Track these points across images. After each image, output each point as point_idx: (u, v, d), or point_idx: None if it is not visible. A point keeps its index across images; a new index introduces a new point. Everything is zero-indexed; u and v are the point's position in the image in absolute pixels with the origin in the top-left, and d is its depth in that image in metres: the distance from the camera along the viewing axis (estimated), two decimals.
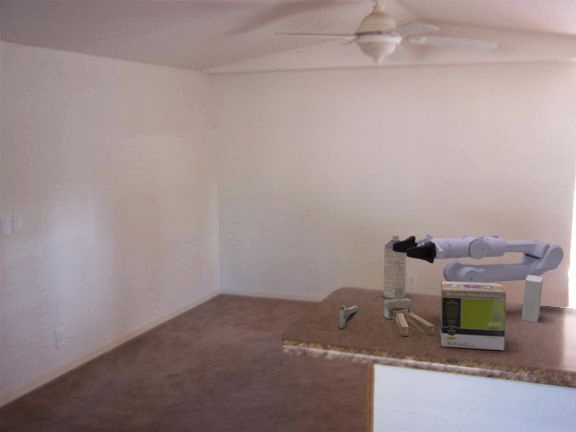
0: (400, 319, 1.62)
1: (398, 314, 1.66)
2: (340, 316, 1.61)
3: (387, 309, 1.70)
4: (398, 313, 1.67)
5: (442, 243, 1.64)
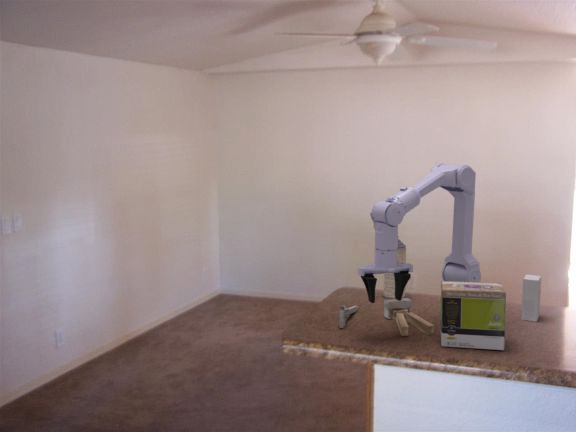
0: (400, 319, 1.62)
1: (398, 314, 1.66)
2: (340, 316, 1.61)
3: (387, 309, 1.70)
4: (398, 313, 1.67)
5: (396, 257, 1.52)
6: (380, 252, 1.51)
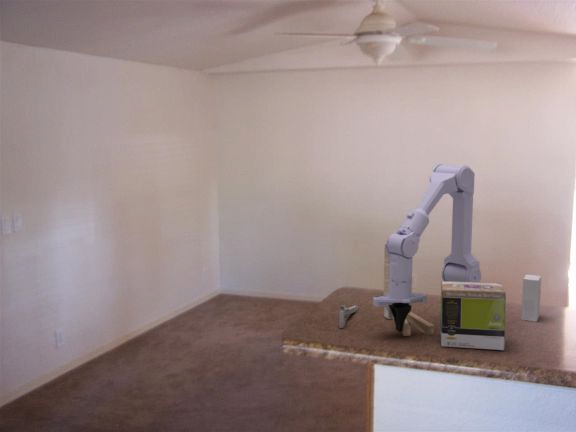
0: None
1: None
2: (340, 316, 1.62)
3: (387, 309, 1.70)
4: None
5: (411, 288, 1.54)
6: (395, 283, 1.53)
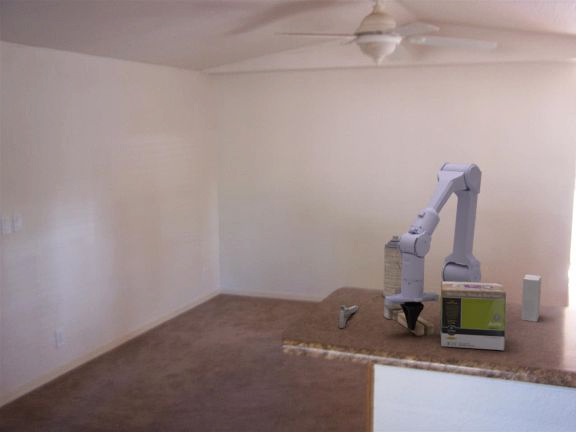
0: None
1: (401, 314, 1.66)
2: (340, 316, 1.62)
3: (387, 309, 1.70)
4: (400, 313, 1.67)
5: (423, 287, 1.55)
6: (407, 282, 1.54)
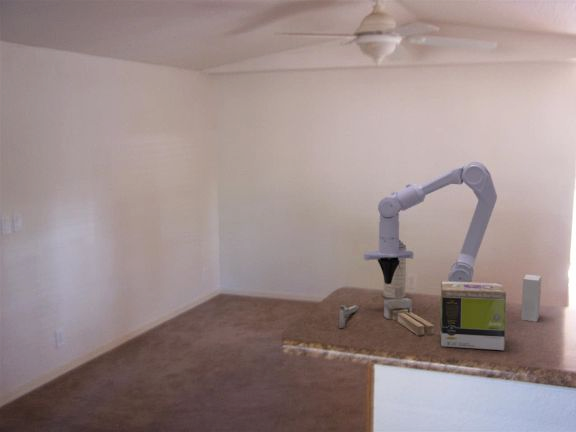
0: (408, 319, 1.62)
1: (401, 314, 1.66)
2: (340, 316, 1.62)
3: (387, 309, 1.70)
4: (400, 313, 1.67)
5: (398, 244, 1.74)
6: (383, 240, 1.73)
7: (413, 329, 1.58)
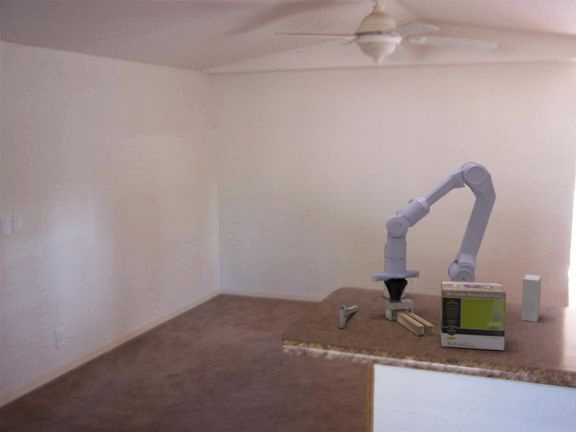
0: (408, 319, 1.62)
1: (401, 314, 1.66)
2: (340, 316, 1.62)
3: (389, 310, 1.69)
4: (400, 313, 1.67)
5: (405, 264, 1.71)
6: (392, 260, 1.69)
7: (413, 329, 1.58)
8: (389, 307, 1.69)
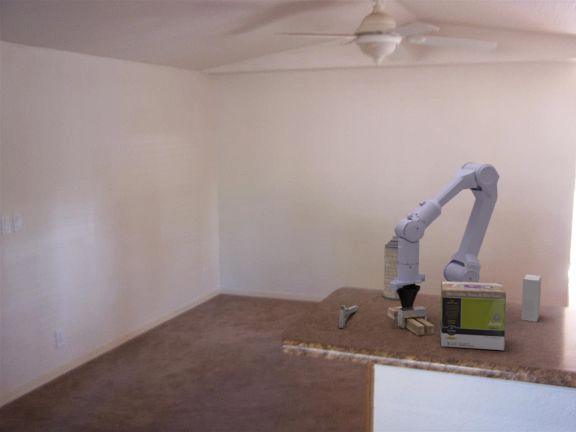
0: (408, 319, 1.62)
1: None
2: (340, 316, 1.62)
3: (401, 318, 1.62)
4: None
5: None
6: (408, 266, 1.62)
7: (413, 329, 1.58)
8: (401, 315, 1.62)
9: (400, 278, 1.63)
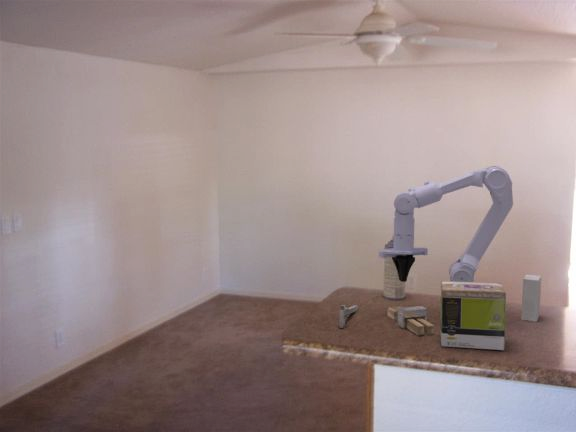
0: (408, 319, 1.62)
1: None
2: (340, 316, 1.62)
3: (401, 318, 1.62)
4: None
5: (413, 241, 1.71)
6: (399, 237, 1.70)
7: (413, 329, 1.58)
8: (401, 315, 1.62)
9: (393, 248, 1.72)
